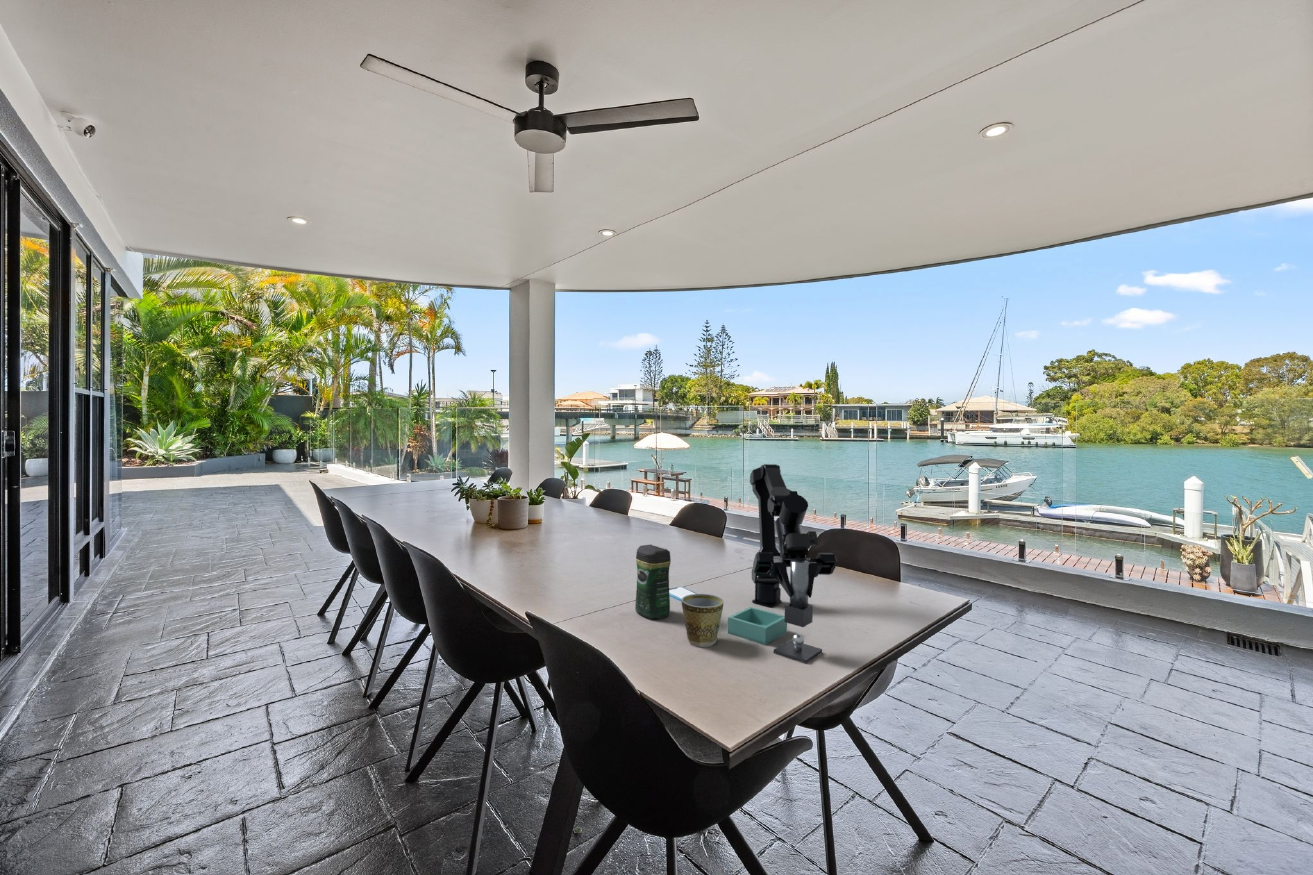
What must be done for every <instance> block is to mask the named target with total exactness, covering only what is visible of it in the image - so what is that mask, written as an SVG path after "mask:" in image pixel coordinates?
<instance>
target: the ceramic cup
mask: <svg viewBox="0 0 1313 875" xmlns="http://www.w3.org/2000/svg"><path fill="white" fill-rule="evenodd" d="M681 608H682V614H683V618H684V623H685V624H684V626H685V630H686V636H687V637H686V638H687V640H688V642H689V644H690V645H691V646H694V647H698V648H709V647H712V646H713V645H715V644H716V643H717V639H718V635H719V629H720V625H721V624H720V623H721V620H722V614H723V610H724V600H723V598H721V597H719V596H717V595H714V594H710V593H709V594H708V593H697V594H691V595H687V596H685V597H683V598H682V601H681Z"/></svg>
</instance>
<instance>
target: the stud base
mask: <svg viewBox="0 0 1313 875" xmlns="http://www.w3.org/2000/svg"><path fill="white" fill-rule="evenodd" d="M804 642H805V638H804V636H803V635H802V634H800V633H795V634H793V636H792V637H791V639H789V640H787V641H786V642H784V643H782V644H781V645H779V646H777V647H775V648H773V654H775V655H778V656H781V657H784V658H787V659H790V660H793V661H795V662H800V663H803V664H805V665H807V664H808V663H809V662H811V661H813V660H814V659H815V658H816V657H818V656H819V655H821V654H822V653H823V649H822V648H820V647H816V646H814V645H811V644H810V645H809V644H807V643H804Z"/></svg>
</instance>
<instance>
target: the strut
mask: <svg viewBox="0 0 1313 875" xmlns="http://www.w3.org/2000/svg"><path fill="white" fill-rule="evenodd" d="M789 575H790V576H789V577H790V579H789V581H790V585H791V590H792V597H789V603H786V604H785V605H784V616H785V618H784V622H786V623H787V624H790V625H793V626H797V627H800V628H804V627H807V626H808V625H809V624H811V623H813V613H814V612H813V610H814V605H813V604H810V603H809V596H808V580H809V562H808V561H806V560H801V559H793V560H791V567H790V574H789Z"/></svg>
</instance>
